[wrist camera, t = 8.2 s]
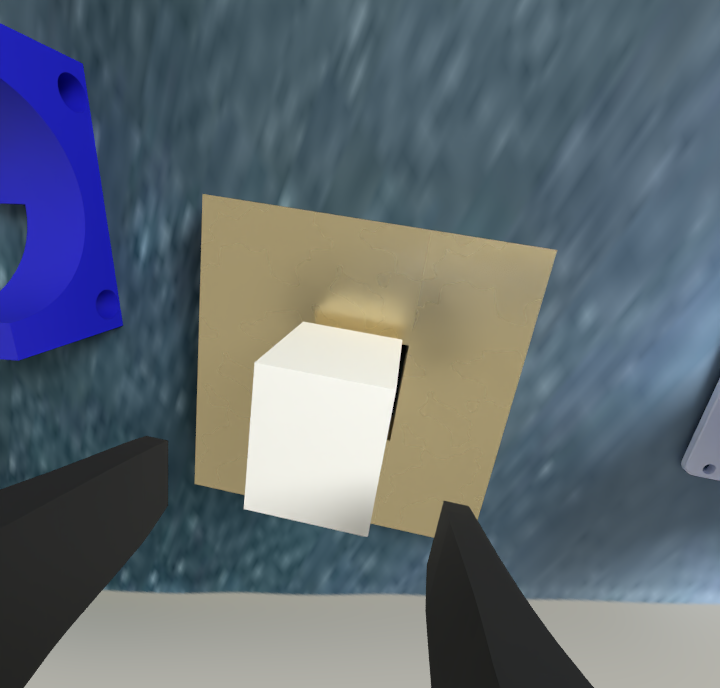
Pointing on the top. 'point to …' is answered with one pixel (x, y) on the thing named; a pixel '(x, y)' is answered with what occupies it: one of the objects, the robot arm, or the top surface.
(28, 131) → the cable clip
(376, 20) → the top surface
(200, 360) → the socket plate
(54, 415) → the top surface
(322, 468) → the plug
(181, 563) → the top surface
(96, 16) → the top surface
